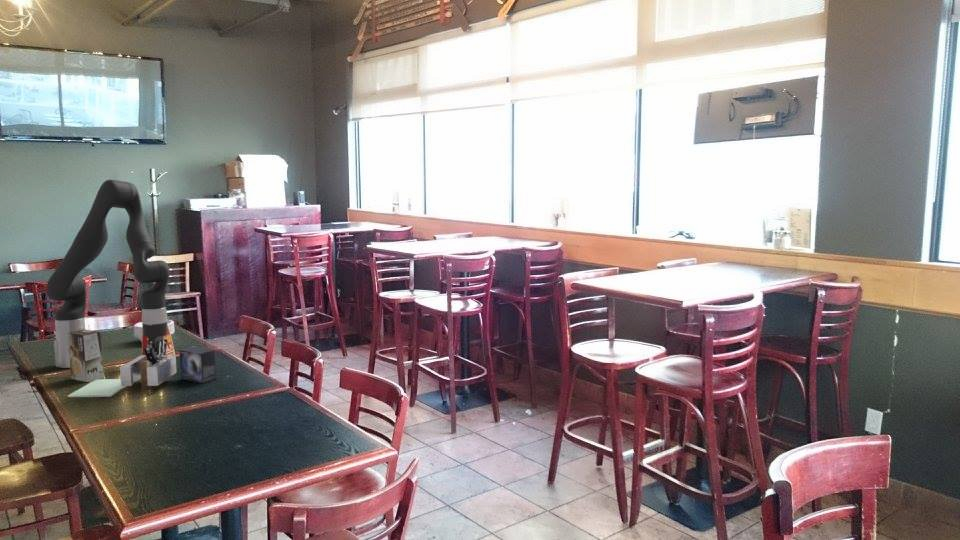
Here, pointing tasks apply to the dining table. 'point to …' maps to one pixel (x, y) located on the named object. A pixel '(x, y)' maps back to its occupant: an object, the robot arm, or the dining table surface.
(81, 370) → the coffee box
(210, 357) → the small box
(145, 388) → the stand
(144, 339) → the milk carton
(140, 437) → the dining table surface
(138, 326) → the paper bowls
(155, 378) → the c link
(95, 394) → the mat
